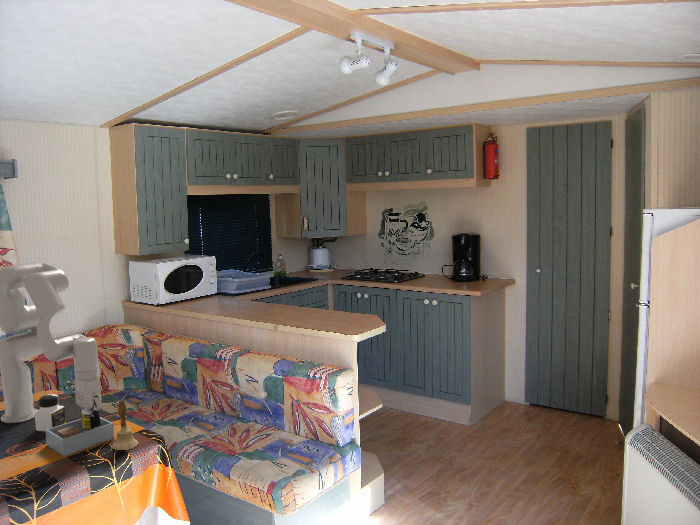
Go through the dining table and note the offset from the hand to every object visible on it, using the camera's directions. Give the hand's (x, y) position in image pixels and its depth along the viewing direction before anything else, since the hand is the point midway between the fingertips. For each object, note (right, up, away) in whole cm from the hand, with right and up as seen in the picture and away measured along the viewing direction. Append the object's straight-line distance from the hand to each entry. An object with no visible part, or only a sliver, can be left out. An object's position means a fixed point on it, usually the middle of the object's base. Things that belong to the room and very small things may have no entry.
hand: (91, 424), depth 206 cm
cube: (-5, -5, -5) cm, 9 cm away
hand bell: (+14, -6, -6) cm, 16 cm away
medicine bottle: (-19, -4, +10) cm, 22 cm away
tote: (-2, -5, -2) cm, 6 cm away
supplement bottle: (0, -2, 0) cm, 2 cm away
